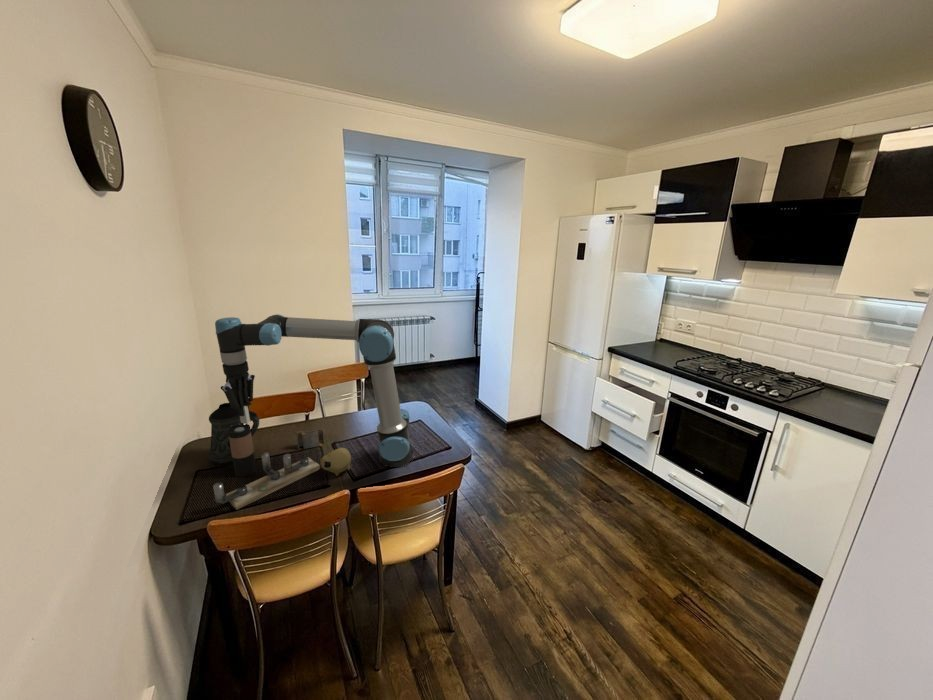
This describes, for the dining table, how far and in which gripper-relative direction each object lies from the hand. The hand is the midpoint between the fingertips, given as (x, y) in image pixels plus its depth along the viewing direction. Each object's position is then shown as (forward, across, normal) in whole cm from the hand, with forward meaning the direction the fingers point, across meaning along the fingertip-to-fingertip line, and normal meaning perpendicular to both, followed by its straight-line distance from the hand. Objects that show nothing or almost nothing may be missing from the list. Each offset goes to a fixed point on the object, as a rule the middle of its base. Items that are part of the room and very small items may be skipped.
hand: (245, 422), depth 134 cm
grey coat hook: (+25, -11, +10) cm, 29 cm away
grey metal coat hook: (+25, +11, 0) cm, 27 cm away
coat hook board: (+27, -3, +6) cm, 28 cm away
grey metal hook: (+25, -4, +3) cm, 26 cm away
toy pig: (+28, -16, +25) cm, 41 cm away
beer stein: (+27, -14, -23) cm, 38 cm away
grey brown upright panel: (+28, -30, +3) cm, 42 cm away
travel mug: (+27, -6, -11) cm, 30 cm away
